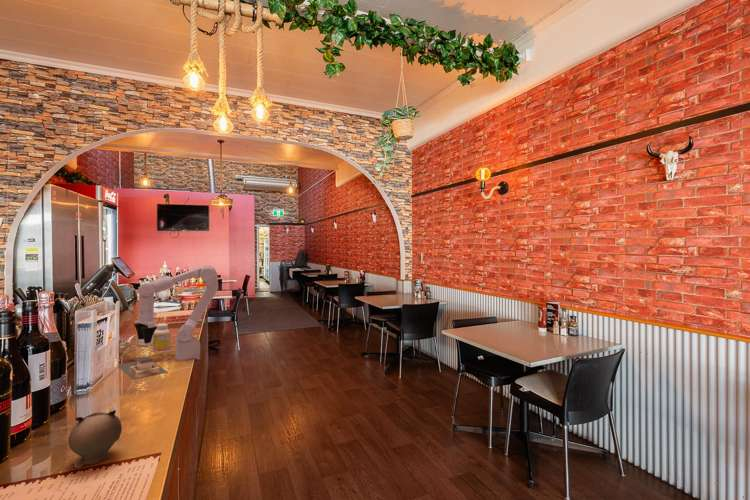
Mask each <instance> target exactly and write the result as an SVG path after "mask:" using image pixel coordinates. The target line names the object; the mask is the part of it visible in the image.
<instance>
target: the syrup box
mask: <svg viewBox="0 0 750 500" xmlns="http://www.w3.org/2000/svg"><path fill="white" fill-rule="evenodd" d="M156 317H157V316H155V315H153V320H154V322H153V323H154V326H156ZM153 342H154V334H153V336H152V340H151V342H150V343H144V339H141V340H139V339H138V335H137V336H136V346H139V347H150V346H153Z"/></svg>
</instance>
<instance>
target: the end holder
mask: <svg viewBox="0 0 750 500" xmlns="http://www.w3.org/2000/svg"><path fill="white" fill-rule="evenodd" d="M153 362H154V361H153ZM153 362H152V368H151V369H146V370H141V371H138V370H137V366H132V367H130V374H131V375H132V376H133V377H135V378H136V380H139V379H138V378H140V379H143V378H142V377H145V378H148V377H147V376H149V377H152V376H151V375H154V376H157V375H156V374H159V373H160V367H161V366H160V367H158V366H159V365H158V364H157V365H158V366H157V365H155V364H154V363H155V362H154V363H153ZM159 375H160V374H159Z"/></svg>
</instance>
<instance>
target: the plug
mask: <svg viewBox="0 0 750 500" xmlns="http://www.w3.org/2000/svg"><path fill="white" fill-rule="evenodd" d="M136 361H137V370H138V371H141V370H146V369H151V368H152V362H154V361H153V357H151V356H149V355H148V356H143V357H137V359H136Z"/></svg>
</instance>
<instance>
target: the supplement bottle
mask: <svg viewBox="0 0 750 500" xmlns="http://www.w3.org/2000/svg"><path fill="white" fill-rule="evenodd" d="M168 326H169V325H168V323H158V324H156V327H157V329H156V330H155V332H154V342H153V345H152V350H153V351H156V352H163V351H167V350H169V349H170V334H171V333H170V332H171V330H170V329H168Z"/></svg>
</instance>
